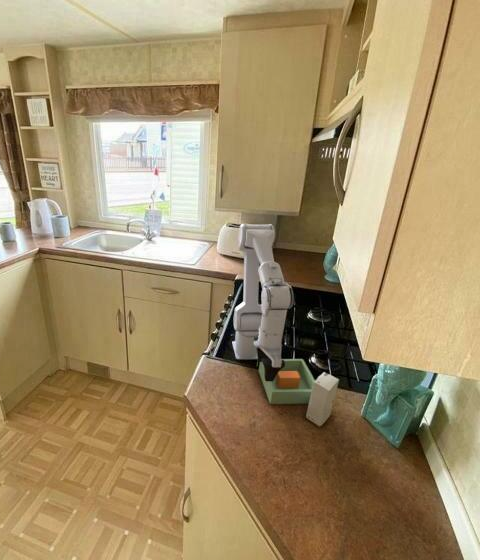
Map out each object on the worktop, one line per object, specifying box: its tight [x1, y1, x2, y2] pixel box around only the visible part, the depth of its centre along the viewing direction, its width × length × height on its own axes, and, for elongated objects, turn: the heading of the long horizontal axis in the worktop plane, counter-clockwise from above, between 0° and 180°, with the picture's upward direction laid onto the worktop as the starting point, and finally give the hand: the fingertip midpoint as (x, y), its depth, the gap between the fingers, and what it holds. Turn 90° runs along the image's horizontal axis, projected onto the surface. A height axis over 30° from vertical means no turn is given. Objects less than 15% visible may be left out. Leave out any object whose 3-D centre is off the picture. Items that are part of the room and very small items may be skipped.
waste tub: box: [258, 358, 316, 405], centre depth 93 cm, size 14×14×4 cm
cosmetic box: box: [305, 371, 340, 427], centre depth 81 cm, size 6×4×12 cm
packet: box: [276, 371, 300, 389], centre depth 92 cm, size 3×6×4 cm, turn 93°
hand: (265, 370), depth 86 cm, fingers open, 7 cm apart
